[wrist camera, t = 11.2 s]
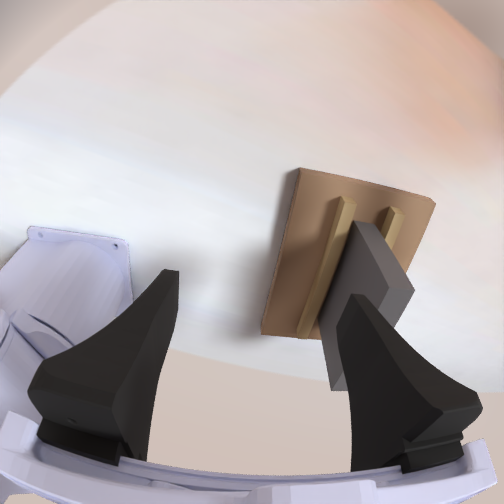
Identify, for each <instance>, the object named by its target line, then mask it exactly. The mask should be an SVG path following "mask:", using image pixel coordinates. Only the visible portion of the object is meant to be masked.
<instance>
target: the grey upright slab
mask: <svg viewBox="0 0 504 504" xmlns="http://www.w3.org/2000/svg"><path fill="white" fill-rule="evenodd" d="M414 291H415V289H414V288H413V286H412V284H411V282H410V281H409V279H408V277H407V275H406V274H405V272H404V270H403V269H402V267H401V265H400V264H399V262H398V260H397V259H396V257H395V255H394V254H393V252H392V251H391V249H390V247H389V246H388V244H387V243H386V241H385V239H384V238H383V236H382V235H381V233H380V232H379V230H378V228H377V227H376V225H375V224H371V223H366V222H360V221H355V220H354V221H353V224H352V227H351V230H350V233H349V235H348V238H347V241H346V244H345V247H344V250H343V253H342V255H341V258H340V261H339V264H338V266H337V269H336V272H335V274H334V277H333V280H332V282H331V285H330V288H329V290H328V293H327V295H326V298H325V301H324V303H323V306H322V308H321V311H320V313H319V316H318V318H317V320H318V325H319V330H320V335H321V340H322V345H323V350H324V355H325V360H326V366H327V371H328V377H329V382H330V388H331V391H348V388H347V384H346V380H345V375H344V371H343V367H342V363H341V358H340V354H339V350H338V343H337V333H336V326H337V324H338V321H339V319H340V317H341V315H342V313H343V311H344V308H345V306H346V304H347V302H348V299H349V297H350V295H351V293H353V294H362V295H365V296H366V297H367V298H368V300H369V301H370V302H371V303H372V304H373V305H374V306H375V307H376V309H377V310H378V311H379V312H380V313H381V314H382V316H383V317H384V318H385V319H386V320H387V321H388V322H389V324H390V325H391V326H392V327H393V328H394V327H395V325H396V323H397V322H398V320H399V318H400V317H401V315H402V313H403V311H404V310H405V308H406V306H407V304H408V302H409V301H410V299H411V297H412V295H413V293H414Z"/></svg>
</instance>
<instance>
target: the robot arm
mask: <svg viewBox="0 0 504 504" xmlns="http://www.w3.org/2000/svg"><path fill="white" fill-rule="evenodd" d="M41 233H42V235H41ZM27 234H28V238H29V239H28V240H27V241H26V242H25V243H24V244H23V246H22V247H21V248H20V249H19V250H18V251H17V252H16V253H15V254H14V255H13V256H12V258H11V259H10V260H9V261H8V262H7V263H6V264H5V265H4V267H3V268H2V269H1V270H0V504H4V502H5V501H6V499H7V498H8V496H9V495H12V494H29V493H35V494H37V495H39V496H41V497H43V498H46V499H48V500H50V501H53V502H55V503H57V504H459V503H461V502H464V501H465V500H467V499H469V498H471V497H473V496H475V495H477V494H479V493H481V492H482V491H484V490H486V489H487V488H489V487H491V486H493V485H495V484H496V483H497V482H498V481H497V477H496V474H495V470H494V467H493V464H492V461H491V458H490V455H489V452H488V449H487V446H486V443H485V440H484V439H479V440H476V441H473V442H469V443H467V444H465V445H463V446H461V443H460V440H462V439H463V434H462V431H463V430H464V429H465V428H467V427H468V426H469V425H470V424H471V423H472V422H473V421H475V420H476V419H477V418H478V416H479V415H480V414H481V412H482V409H483V407H482V404H481V402H480V399H479V397H478V395H477V392H475V391H473V390H471V389H469V388H468V387H466V386H464V385H462V384H460V383H458V382H457V381H455V380H453V379H452V378H450V377H449V376H447V375H446V374H444V373H443V372H441V371H440V370H438V369H437V368H436V367H434V366H433V365H432V364H431V363H429V362H428V361H427V360H426V359H424V358H423V357H422V356H421V355H420V354H419V353H418V352H416V351H415V350H414V349H413V348H412V347H411V346H410V345H409V344H408V343H407V342H406V341H405V340H404V339H403V338H402V337H401V336H400V335H399V334H398V333H397V331H396V330H395V329H394V328H393V327H392V326H391V325H390V324H389V322H388V321H387V320H386V319H385V318H384V317H383V316H382V314H381V313H380V312H379V311H378V310H377V309H376V307H375V306H374V305H373V304H372V303H371V302H370V301H369V300H368V298H367V297H366V296H365V295H362V294H353V293H351V295H350V297H349V299H348V302H347V304H346V306H345V308H344V311H343V313H342V315H341V317H340V319H339V321H338V324H337V326H336V333H337V343H338V350H339V354H340V358H341V363H342V367H343V371H344V375H345V380H346V384H347V388H348V393H349V401H350V412H351V429H352V456H351V472H348V473H336V474H321V475H297V476H269V475H243V474H229V473H218V472H208V471H199V470H192V469H184V468H178V467H172V466H166V465H160V464H155V463H150V462H147V452H148V443H149V435H150V427H151V420H152V413H153V407H154V401H155V395H156V390H157V384H158V380H159V376H160V372H161V369H162V366H163V363H164V360H165V356H166V353H167V350H168V347H169V344H170V341H171V338H172V334H173V331H174V327H175V322H176V317H177V312H178V294H179V271H174V270H167V269H164V270H162V271H161V273H160V274H159V275H158V276H157V277H156V279H155V280H154V281H153V282H152V283H151V284H150V285H149V287H148V288H147V289H146V290H145V291H144V292H143V293H142V294H141V295H140V296H139V297H138V298H137V299H136V300H135V301H134V302H133V296H132V286H131V274H130V261H129V246H128V243H127V242H126V241H125V240H123V239H116V238H109V237H102V236H95V235H89V234H82V233H75V232H68V231H61V230H54V229H47V228H41V227H34V226H31V227H30V228H28V230H27ZM114 244H116V245H117V246H118V247H116V246H114ZM115 317H117V318H115ZM114 318H115V319H114Z"/></svg>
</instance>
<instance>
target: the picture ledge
mask: <svg viewBox="0 0 504 504" xmlns="http://www.w3.org/2000/svg"><path fill="white" fill-rule="evenodd" d="M435 205H436V203H435V202H434V201H433V200H432V199H430V198H428V197H425V196H421V195H418V194H414V193H410V192H406V191H403V190H399V189H395V188H391V187H387V186H383V185H379V184H375V183H371V182H366V181H362V180H358V179H353V178H349V177H344V176H340V175H335V174H330V173H325V172H320V171H315V170H310V169H305V168H300V169H299V173H298V177H297V182H296V186H295V190H294V194H293V199H292V203H291V207H290V211H289V216H288V220H287V224H286V228H285V232H284V236H283V240H282V244H281V248H280V252H279V256H278V260H277V264H276V268H275V272H274V276H273V280H272V284H271V288H270V292H269V296H268V300H267V304H266V308H265V311H264V315H263V319H262V323H261V335H271V336H281V337H292V338H298V339H317V340H321V335H320V330H319V325H318V320H317V318H318V316H319V313H320V311H321V308H322V306H323V303H324V301H325V298H326V295H327V293H328V290H329V288H330V285H331V282H332V280H333V277H334V274H335V272H336V269H337V266H338V264H339V261H340V258H341V255H342V253H343V250H344V247H345V244H346V241H347V238H348V235H349V233H350V230H351V227H352V224H353V221H354V220H355V221H360V222H366V223H371V224H375V225H376V227H377V228H378V230H379V232H380V233H381V235H382V236H383V238H384V239H385V241H386V243H387V244H388V246H389V247H390V249H391V251H392V252H393V254H394V255H395V257H396V259H397V260H398V262H399V264H400V265H401V267H402V269H403V270H404V272H405V274H406V272H407V270H408V268H409V265H410V263H411V261H412V259H413V257H414V255H415V253H416V250H417V248H418V246H419V244H420V241H421V239H422V237H423V234H424V232H425V230H426V227H427V225H428V223H429V220H430V218H431V215H432V213H433V210H434V208H435Z"/></svg>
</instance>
